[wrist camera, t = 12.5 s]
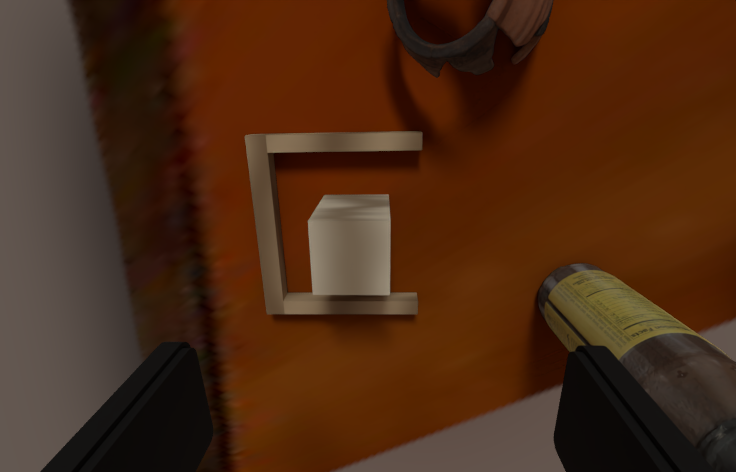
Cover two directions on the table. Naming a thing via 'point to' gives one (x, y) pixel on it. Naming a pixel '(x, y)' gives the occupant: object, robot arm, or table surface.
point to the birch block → (350, 245)
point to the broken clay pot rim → (477, 35)
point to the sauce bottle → (649, 354)
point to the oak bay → (270, 225)
